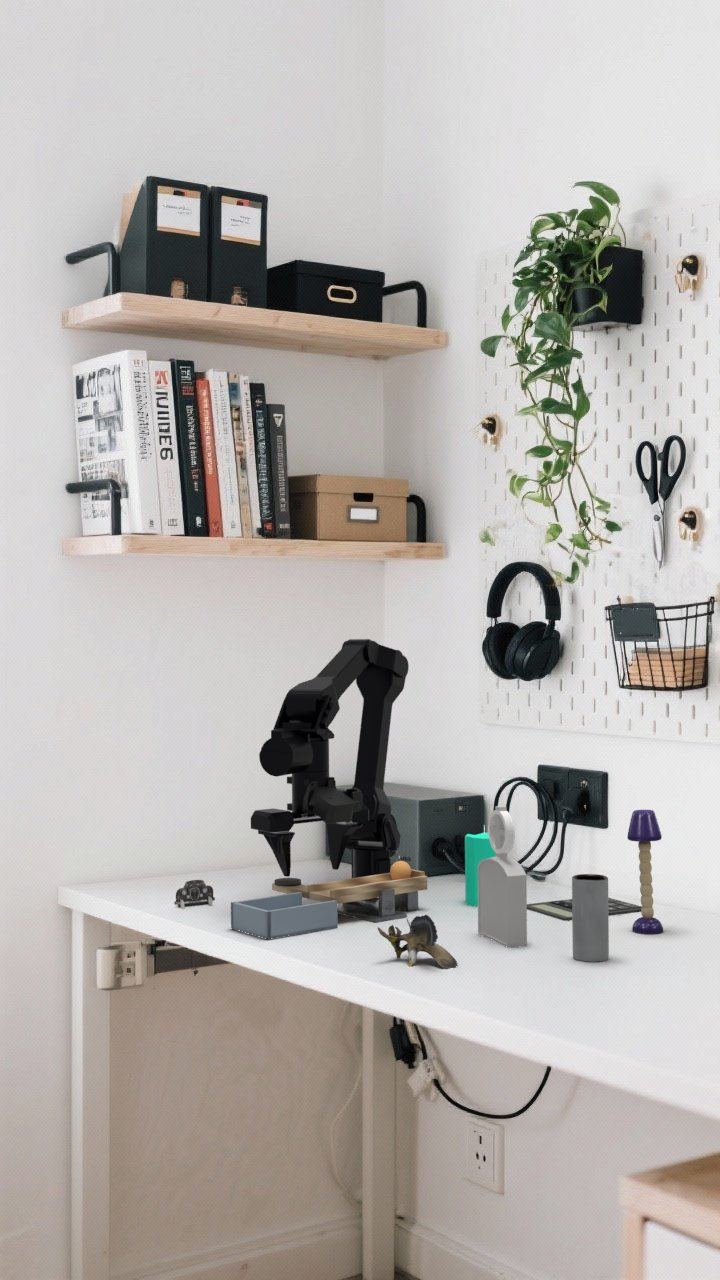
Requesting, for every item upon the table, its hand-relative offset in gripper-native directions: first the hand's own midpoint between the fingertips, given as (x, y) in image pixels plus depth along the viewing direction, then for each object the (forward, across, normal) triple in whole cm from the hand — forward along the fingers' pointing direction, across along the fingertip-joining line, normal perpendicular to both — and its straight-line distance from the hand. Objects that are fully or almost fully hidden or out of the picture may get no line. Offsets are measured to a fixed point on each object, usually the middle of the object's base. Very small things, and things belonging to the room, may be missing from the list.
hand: (311, 872), depth 210 cm
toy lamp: (+5, +25, -44) cm, 51 cm away
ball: (0, +9, -10) cm, 14 cm away
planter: (+5, +7, -50) cm, 51 cm away
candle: (+5, +22, -15) cm, 27 cm away
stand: (+5, +6, -10) cm, 13 cm away
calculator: (+6, +30, -28) cm, 42 cm away
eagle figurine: (+6, -11, -38) cm, 40 cm away
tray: (+5, -12, -10) cm, 17 cm away
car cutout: (+6, -9, +12) cm, 16 cm away
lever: (+2, +3, -6) cm, 7 cm away
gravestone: (+5, +6, -35) cm, 36 cm away
